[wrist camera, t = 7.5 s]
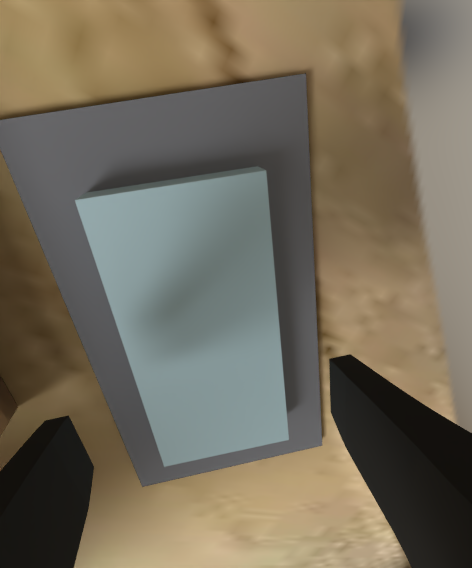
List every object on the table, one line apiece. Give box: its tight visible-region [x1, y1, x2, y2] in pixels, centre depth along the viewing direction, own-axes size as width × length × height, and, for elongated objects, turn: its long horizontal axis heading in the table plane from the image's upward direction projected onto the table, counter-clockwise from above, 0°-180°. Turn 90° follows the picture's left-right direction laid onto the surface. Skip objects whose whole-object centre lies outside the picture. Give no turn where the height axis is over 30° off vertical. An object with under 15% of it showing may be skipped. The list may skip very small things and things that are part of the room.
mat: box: [0, 74, 322, 487], centre depth 13 cm, size 16×9×1 cm, turn 8°
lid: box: [75, 166, 289, 467], centre depth 12 cm, size 11×5×1 cm, turn 7°
